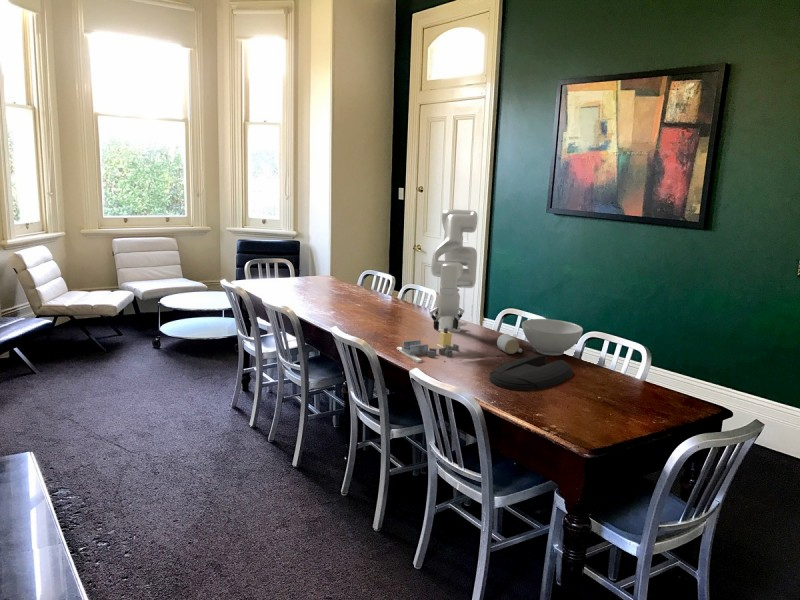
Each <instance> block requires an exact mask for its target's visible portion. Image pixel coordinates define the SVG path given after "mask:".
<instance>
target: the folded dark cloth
mask: <svg viewBox="0 0 800 600" xmlns="http://www.w3.org/2000/svg"><path fill="white" fill-rule="evenodd" d="M544 364H545V365H544ZM539 366H540V367H539ZM573 375H574V371H573V368H572V367H571V366H570V364H569V363H568V362H566V360H564V359H559V360H555V361H552V362H549V363H547V355H534V356H532V355H531V356H527V357H523V358H522V357H521V358H518V359H516V360H512V361H509V362H506V363H504V364H502V365H500V366H498V367H496V368H495V369H493V370H491V372H490V373H489V379H488V380H489V381H490V383H491V384H493V385H495V386H497V387H500V388H503V389H506V390H507V389H508V390H511V391H534V389H537V390H536V391H540V390H544V389H548V388H551V387H554V386H557V385H559V384H561V382H562V383H564V382H565V381H567V380H568V379H570V378H572V376H573Z"/></svg>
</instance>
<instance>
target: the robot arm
mask: <svg viewBox="0 0 800 600" xmlns="http://www.w3.org/2000/svg"><path fill="white" fill-rule="evenodd" d="M478 217H479V216H478V213H477V211H475V210H471V209H469V210H467V209H455V208H454V209H452V208H451V209H445V210H443V211H442V213H441V222H442V223H441V224H442V227H443V230H444V237H443V241H442V242H441V243H440V244H439V245H438V246H437V247H436V248H435V250H433V253H432V258H431V265H430V266H431V268H430V271H431V275H432V276H433V277H436V278H439V280H440V281H439V283H440V284H439V293H437V296H436V300H435V304H434V308H433V309H431V310H429V311H428V312H429V313H428V314H429V315H430V318H431V319H432V320H433V329H434V330H436V331H438V332H444V328H448V332H450V333H460V332H461V331H462V328H461V327H466V326H467V322H466V321H460V320H461V318H462V317H463V314H464V313H465V310H464V309H462V308H461V307H460V302H461V301H460V300H461V296H460V293H459V291H460V289H459V288H463V289H472V288H474V287H475V285H476V282H477V281H476V280H477V266H478V251H477V249H476V248H475V247H473V246H464V245H463V243H464V235H463V233H469V234H470V233H475V232H476V230H477V226H478V219H479V218H478ZM443 255H444V260H439V258H440V257H441V256H443ZM464 267H466V268H464Z"/></svg>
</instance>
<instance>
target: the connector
mask: <svg viewBox="0 0 800 600" xmlns="http://www.w3.org/2000/svg"><path fill="white" fill-rule="evenodd" d="M438 332H439V334H438V344H439V345H440V346H442V347H445V345H449V346H452V337H453V335H452V333H453V332H448V328H444V332H440V331H438ZM440 346H439V347H440ZM442 347H441V348H442Z"/></svg>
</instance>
